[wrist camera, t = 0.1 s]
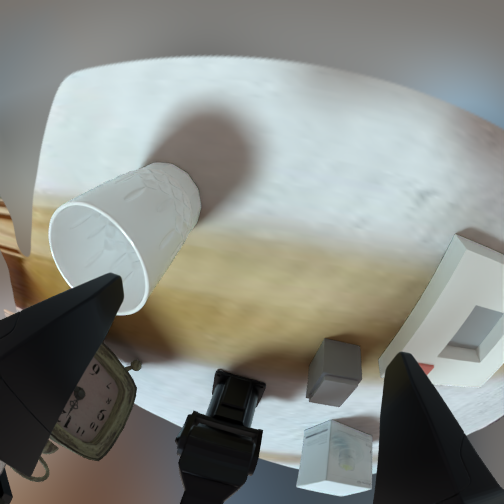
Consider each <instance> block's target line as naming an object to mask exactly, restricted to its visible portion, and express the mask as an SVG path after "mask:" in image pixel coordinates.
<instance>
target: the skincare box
mask: <svg viewBox="0 0 504 504" xmlns="http://www.w3.org/2000/svg"><path fill="white" fill-rule="evenodd" d="M296 486H297V487H299V488H304V489H308V490H312V491H317V492H322V493H326V494H332V495H338V496H346V495H350V494H354V493H359V492H362V491H366V490H370V489H372V436H371V435H368V434H366V433H363V432H361V431H358V430H356V429H353V428H351V427H348V426H346V425H344V424H341V423H339V422H336V421H334V420H329V421H327V422H324V423H322V424H320V425H317V426H315V427H312V428H310V429H307V430H305V431H304V440H303V448H302V456H301V462H300V468H299V474H298V480H297V485H296Z"/></svg>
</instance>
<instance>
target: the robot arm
mask: <svg viewBox="0 0 504 504" xmlns="http://www.w3.org/2000/svg"><path fill="white" fill-rule="evenodd" d="M123 300H124V290H123V282H122V278H121V276H120V275H117V274H114V273H111V272H110V273H107V274H104V275H102V276H100V277H97V278H95V279H92V280H90V281H88V282H85V283H83V284H81V285H78V286H76V287H74V288H71V289H69V290H67V291H64V292H62V293H60V294H58V295H55V296H53V297H51V298H48V299H46V300H44V301H42V302H39V303H37V304H35V305H33V306H31V307H28V308H26V309H24V310H22V311H21V312H17V313H15V314H13V315H11V316H8V317H6V318H4V319H2V320H0V504H10V502H11V500H12V498H13V496H12V493H11V489H10V486H9V482H8V478H7V475H6V471H5V466H6V464H7V465H9V466H11V467H12V468H14V469H16V470H17V471H19V472H21V473H23V474H24V475H26V476H28V477H31V475H32V473H33V471H34V469H35V467H36V464H37V462H38V460H39V458H40V456H41V454H42V452H43V449H44V447H45V445H46V443H47V441H48V439H49V437H50V435H51V433H52V431H53V429H54V427H55V425H56V423H57V421H58V419H59V417H60V415H61V413H62V412H63V410H64V408H65V406H66V404H67V402H68V400H69V399H70V397H71V395H72V393H73V391H74V390H75V388H76V386H77V384H78V382H79V381H80V379H81V377H82V376H83V374H84V372H85V370H86V369H87V367H88V365H89V364H90V362H91V360H92V359H93V357H94V355H95V354H96V352H97V350H98V349H99V347H100V345H101V344H102V342H103V340H104V339H105V337H106V335H107V333H108V331H109V329H110V327H111V325H112V322H113V320H114V318H115V316H116V314H117V312H118V310H119V308H120V306H121V304H122V302H123ZM265 388H266V384H265V383H262V382H258V381H254V380H250V379H247V378H243V377H239V376H236V375H232V374H229V373H225V372H222V371H216V373H215V377H214V384H213V390H212V395H213V396H212V399H211V402H210V404H209V407H208V410H207V413H206V415H203V414H200V413H198V412H196V411H193V413H192V414H190V415H188V416H187V419H186V421H185V424H184V426H183V427H182V429H181V431H180V432H179V434H178V436H177V437H176V440H175V442H176V444H177V449H178V450H177V455H179V456H180V459H179V473H180V477H181V481H182V484H183V488H184V494H183V497H182V499H181V502H180V504H223V503H224V502H225V501H226V500H227V499H228V498H230V497H231V496H232V495H233V494H234V493H235V492H237V491H238V490H239V489H240V487H242V485H243V484H244V483H245V482H246V480H247V476H248V475H250V476H251V475H252V474H253V473H254V470H255V467H256V465H257V461H258V457H259V452H260V446H261V440H262V433H263V430H261V429H253V428H251V424H252V420H253V416H254V412H255V408H256V407H257V406H258V403H259V401H260V399H261V397H262V395H263V392H264V390H265ZM373 504H504V489H502V488H501V487H500V485H499V484H498V483H497V481H496V480H495V478H494V477H493V476H492V474H491V473H490V471H489V470H488V468H487V467H486V465H485V464H484V463H483V461H482V460H481V458H480V457H479V455H478V454H477V452H476V451H475V449H474V448H473V446H472V444H471V443H470V441H469V440H468V438H467V436H466V435H465V434H464V431H463V430H462V428H461V427H460V425H459V423H458V422H457V420H456V419H455V417H454V415H453V414H452V412H451V411H450V409H449V408H448V406H447V405H446V403H445V402H444V400H443V399H442V397H441V396H440V394H439V393H438V391H437V390H436V388H435V387H434V385H433V384H432V382H431V381H430V379H429V378H428V376H427V375H426V374H425V372H424V371H423V369H422V368H421V366H420V365H419V364H418V362H417V361H416V359H415V358H414V357H413V355H412V354H411V353H408V352H402V351H401V352H399V353H397V355H396V356H395V357H394V358H393V360H392V361H391V362H390V363H389V365H388V366H387V368H386V370H385V377H384V387H383V396H382V404H381V414H380V436H379V453H378V465H377V476H376V485H375V493H374V500H373Z"/></svg>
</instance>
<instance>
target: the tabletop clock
mask: <svg viewBox="0 0 504 504" xmlns="http://www.w3.org/2000/svg"><path fill="white" fill-rule="evenodd" d="M131 369H133V370H134V371H139V370H140V369H141V363H140V362H139V361H138V360H134V361H132V362H131V366H128V367H124V366H123V365H122V364H121V362H120V361H119V360H118V358H117V357H116V356H115V355H114V353H113V352H112V351H111V350H110V349H109V348H108V347H107V346H106V345H105V344H104V343H103V342H102V344H101V345H100V347H99V349H98V350H97V352H96V354H95V355H94V357H93V359H92V360H91V362H90V364H89V365H88V367H87V369H86V370H85V372H84V374H83V376H82V377H81V379H80V381H79V382H78V384H77V386H76V388H75V390H74V391H73V393H72V395H71V397H70V399H69V400H68V402H67V404H66V406H65V408H64V410H63V412H62V413H61V415H60V417H59V419H58V421H57V423H56V425H55V427H54V429H53V431H52V433H51V435H50V437H49V438H50V439H51V440H53V441H54V442H56V443H58V444H59V445H61V446H63V447H65V448H67V449H69V450H70V451H72V452H74V453H76V454H78V455H80V456H82V457H84V458H87V459H89V460H95V461H99V460H101V459H102V458H103V457H104V456H105V455H106V454H107V453H108V452H109V451H110V449H111V448H112V446H113V445H114V443H115V442H116V440H117V438H118V437H119V435H120V433H121V432H122V430H123V429H124V426H125V424H126V421H127V419H128V417H129V415H130V412H131V410H132V407H133V404H134V401H135V398H136V391H137V387H136V385H135V383H134V380H133V379H132V377H131V375H130V374H129V372H128V371H129V370H131ZM57 450H58V447H57V446H55V445H54V444H53V443H52V442H50V441H49V440H48V441H47V443H46V445H45V447H44V449H43V452H42V453H43V454H51V453H54V452H55V451H57ZM39 461H40V462H41V463H42V465H43V466H44V468H45V470H46V474H45V476H43V477H38V478H37V477H32V476H31V477H28V476H26V475H24V474H23V473H21V472H19V471H17V470H16V469H14V468H12V467H11V466H10V467H11V468H12V469H13V470H14V471H15V472H17V473H18V474H20V475H21V476H22V477H24V478H26V479H28V480H30V481H35V482H41V481H44V480H46V479H47V478H48V477H49V468H48V466H47V464H46V462H45V461H44V460H43V458H42V457H41V456H40V458H39Z"/></svg>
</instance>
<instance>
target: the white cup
mask: <svg viewBox="0 0 504 504" xmlns="http://www.w3.org/2000/svg"><path fill="white" fill-rule="evenodd" d="M201 207H202V206H201V201H200V196H199V191H198V188H197V186H196V185H195V184H194V182H193V181H192V179H191V178H190V176H189V175H188V173H186V172H185V171H183V170H181V169H180V168H178V167H177V166H175V165H173V164H170V163H160V162H154V163H152V164H150V165H148V166H145V167H143V168H141V169H138V170H135V171H130V172H128V173H125V174H123V175H120V176H118V177H116V178H114V179H111V180H109V181H106V182H104V183H103V184H101V185H99V186H97V187H95V188H93V189H91V190H89V191H87V192H85V193H83V194H81V195H79V196H77V197H75V198H74V199H72V200H70V201H68V202H66V203H64V204H63V205H61V206H60V207H58V208H57V209H56V211H55V212H54V214H53V215H52V218H51V220H50V224H49V244H50V249H51V252H52V256H53V258H54V261H55V263H56V265H57V267H58V269H59V271H60V273H61V274H62V276H63V278H64V279H65V280H66V282H67V283H68V284H69V286H70V287H71V288H74V287H76V286H78V285H81V284H83V283H85V282H88V281H90V280H92V279H95V278H97V277H100V276H102V275H104V274H107V273H110V272H111V273H114V274H117V275H120V276H121V278H122V282H123V290H124V300H123V302H122V304H121V306H120V308H119V310H118V312H117V314H116V315H130V314H133V313H135V312H137V311H139V310H140V309H141V308H142V307H143V306H144V304H145V303H146V301H147V300H148V298H149V296H150V295H151V293H152V292H153V290H154V289H155V287H156V286H157V284H158V283H159V281H160V280H161V278H162V277H163V275H164V274H165V272H166V271H167V269H168V268H169V266H170V265H171V263H172V262H173V260H174V258H175V257H176V255H177V253H178V252H179V250H180V249H181V247H182V246H183V244H184V242H185V240H186V239H187V236H188V235H189V233H190V232H191V230H192V229H193V228H194V226H195V225H196V224H197V222H198V218H199V214H200V211H201Z"/></svg>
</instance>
